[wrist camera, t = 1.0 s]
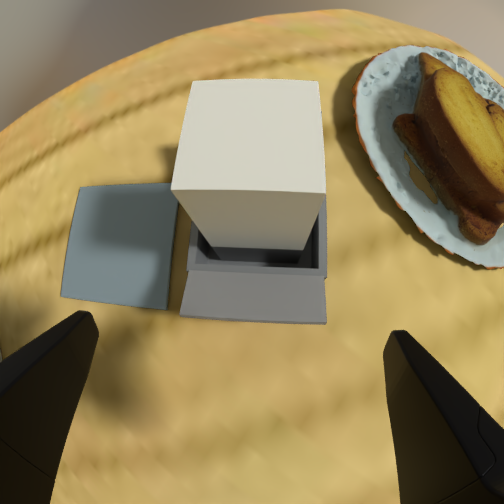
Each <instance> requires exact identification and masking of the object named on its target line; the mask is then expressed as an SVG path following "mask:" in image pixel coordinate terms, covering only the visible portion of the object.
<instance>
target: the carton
mask: <svg viewBox="0 0 504 504" xmlns="http://www.w3.org/2000/svg"><path fill="white" fill-rule="evenodd" d="M321 116H322V111H321ZM187 272H188V277H187V282H186V286H185V291H184V295H183V300H182V304H181V309H180V314H179V315H180V317H187V318H199V319H212V320H226V321H242V322H260V323H283V324H322V325H326V323H327V317H326V299H325V283H324V280H325V279H326V278H327V212H326V195H325V198H324V200H323V203H322V205H321V208H320V210H319V213H318V215H317V218H316V220H315V222H314V225H313V227H312V230H311V232H310V235H309V237H308V240H307V242H306V244H305V247H304V249H303V252H302V254H301V256H300V259H299V261H298V263H297V264H293V263H267V262H243V261H222V260H221V259H220V258H219V256H218V255H217V254H216V252H215V251H214V249H213V248H212V247H211V245H210V244H209V243H208V241H207V240H206V238H205V237H204V236H203V234H202V233H201V232H200V230H199V229H198V227H197V226H196V225H195V223H194V222H193V221H192V223H191V232H190V241H189V250H188V260H187Z"/></svg>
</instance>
